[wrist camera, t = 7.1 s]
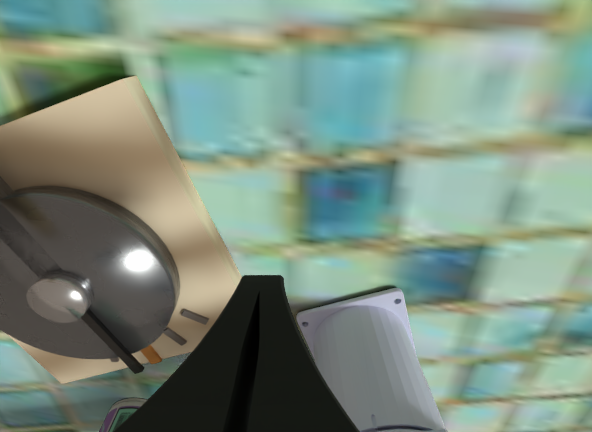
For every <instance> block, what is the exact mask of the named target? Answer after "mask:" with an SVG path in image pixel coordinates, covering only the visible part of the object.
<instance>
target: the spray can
mask: <svg viewBox="0 0 592 432" xmlns="http://www.w3.org/2000/svg"><path fill="white" fill-rule="evenodd" d="M146 401H147V400H146V399H140V398H129V399H123V400H120V401H118V402H116V403H115V404H114V405H113V406H112V407H111V409H110V411H109V412H108V414H107V416H106V418H105V421H104V423H103V425H102V427H101V429H100V431H99V432H113V431H114V430H115V429H116V428H117V427H119V426H120V425H121V424H122V423H123V422H124V421H125V420H126V419H127V418H128V417H130V416H131V415H132V414H133V413H134V412H135V411H136V410H137V409H138V408H140V407H141V406H142V405H143V404H144V403H145V402H146Z"/></svg>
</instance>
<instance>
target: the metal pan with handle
mask: <svg viewBox="0 0 592 432" xmlns="http://www.w3.org/2000/svg"><path fill="white" fill-rule="evenodd" d="M179 295H180V277H179V273H178V269H177V265H176V263H175V261H174V258H173V256H172V254H171V253H170V251H169V249H168V248H167V246H166V245H165V243H164V242H163V241H162V239H161V238H160V237H159V236H158V235H157V234H156V233H155V231H154V230H153V229H152V228H151V227H150V226H149V225H147V224H146V223H145V222H144V221H143V220H141V219H140V218H139V217H138V216H136V215H135V214H133V213H132V212H130V211H129V210H127V209H126V208H124V207H122V206H120V205H118V204H116V203H115V202H113V201H111V200H108V199H106V198H104V197H101V196H99V195H96V194H93V193H90V192H86V191H83V190H79V189H74V188H69V187H62V186H50V185H48V186H31V187H25V188H20V189H17V190H14V191H13V190H12V189H11V188H10V186H9V185H8V184H7V183H6V182H5V181H4V180H3V178H2V177H1V176H0V330H2V331H3V332H5V333H6V334H8V335H10V336H12V337H13V338H15V339H17V340H19V341H21V342H23V343H26V344H28V345H30V346H32V347H35V348H38V349H40V350H43V351H46V352H50V353H53V354H57V355H62V356H66V357H72V358H80V359H110V358H118V357H119V358H120V359H121V360H122V361H123V362H124V363H125V364H126V365H127V366H128V367H129V368H130V369H131V370H132V371H133V372H134V373H135V374H136V373H139V372H143V369H144V367H143V366H142V365H141V364H140V363H139V361H138V360H137V359H136V358H135V357H134V356H133V355H132V354H133V353H135V352H138V351H140V350H142V349H144V348H146V347H148V346H149V345H150V344H152V343H153V342H155V341H156V340H157V339H158V338H159V337H160V336H161V335H162V333H163V332H164V331H165V329H166V327H167V325H168V323H169V321H170V319H171V317H172V314H173V312H174V310H175V307H176V305H177V302H178V298H179Z"/></svg>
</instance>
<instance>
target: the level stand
mask: <svg viewBox="0 0 592 432" xmlns="http://www.w3.org/2000/svg"><path fill="white" fill-rule="evenodd" d="M0 176H1V177H2V178H3V180H4V181H5V182H6V183H7V184H8V185H9V186H10V188H11V189H12V190H13V191H14V190H17V189H20V188H25V187H31V186H48V185H50V186H62V187H69V188H74V189H79V190H83V191H86V192H90V193H93V194H96V195H99V196H101V197H104V198H106V199H108V200H111V201H113V202H115V203H116V204H118V205H120V206H122V207H124V208H126V209H127V210H129V211H130V212H132V213H133V214H135V215H136V216H138V217H139V218H140V219H141V220H143V221H144V222H145V223H146V224H147V225H149V226H150V227H151V228H152V229H153V230H154V231H155V233H156V234H157V235H158V236H159V237H160V238H161V239H162V241H163V242H164V243H165V245H166V246H167V248H168V249H169V251H170V253H171V254H172V256H173V258H174V261H175V263H176V265H177V269H178V273H179V277H180V295H179V298H178V302H177V305H176V307H175V310H174V312H173V314H172V317H171V319H170V321H169V323H168V325H167V327H166V329H165V331H164V332H163V333H162V335H161V336H160V337H159V338H158V339H157V340H156V341H155V342H153V343H152V344H150V345H149V346H148V347H146V348H144V349H142V350H140V351H138V352H135V353H133V354H132V355H133V356H134V357H135V358H136V359H137V360H138V361H139V363H140V364H144V363H149V362H150V363H151V364H155V363H159V362H161V361H162V359H165V358H169V357H173V356H177V355H181V354H185V353H189V352H193V350H194V349H195V348H196V347H197V345H198V344H199V343H200V341H201V340H202V339H203V337H204V336H205V335H206V333H207V332H208V331H209V329H210V328H211V327H212V325H213V324H214V323H215V321H216V320H217V318H218V317H219V315H220V314H221V312H222V311H223V309H224V308H225V306H226V305H227V303H228V301H229V300H230V298H231V296H232V295H233V293H234V291H235V290H236V288H237V286H238V284H239V282H240V280H241V278H242V276H241V275H240V273H239V271H238V269H237V267H236V265H235V263H234V261H233V259H232V257H231V255H230V254H229V252H228V250H227V248H226V246H225V244H224V242H223V240H222V238H221V236H220V234H219V233H218V231H217V229H216V227H215V225H214V223H213V221H212V219H211V217H210V215H209V213H208V212H207V210H206V208H205V206H204V204H203V202H202V200H201V198H200V196H199V194H198V192H197V190H196V189H195V187H194V185H193V183H192V181H191V179H190V177H189V175H188V173H187V171H186V169H185V168H184V166H183V164H182V162H181V160H180V158H179V156H178V154H177V152H176V150H175V148H174V147H173V145H172V143H171V141H170V139H169V137H168V135H167V133H166V131H165V129H164V127H163V126H162V124H161V122H160V120H159V118H158V116H157V114H156V112H155V110H154V108H153V106H152V105H151V103H150V101H149V99H148V97H147V95H146V93H145V91H144V89H143V87H142V85H141V83H140V82H139V80H138V78H137V76H133V77H128V78H124V79H121V80H118V81H116V82H113V83H110V84H108V85H105V86H103V87H100V88H97V89H95V90H92V91H90V92H87V93H84V94H82V95H79V96H77V97H74V98H71V99H69V100H66V101H64V102H61V103H58V104H56V105H53V106H51V107H48V108H45V109H43V110H40V111H38V112H35V113H32V114H30V115H27V116H25V117H22V118H19V119H17V120H14V121H12V122H9V123H6V124H4V125H1V126H0ZM7 335H8V334H7ZM9 336H10V335H9ZM10 337H11V338H12V339H13V340H14V341H15V342H16V343H17V344H19V345H20V346H21V347H22V348H23V349H24V350H25V351H26V352H27V353H28V354H30V355H31V356H32V357H33V358H34V359H35V360H36V361H37V362H38V363H40V364H41V365H42V366H43V367H44V368H45V369H46V370H47V371H48V372H49V373H51V374H52V375H53V376H54V377H55V378H56V379H57V380H58V381H59V382H60V383H62V384H64V383H68V382H72V381H76V380H80V379H84V378H88V377H92V376H96V375H100V374H104V373H108V372H112V371H116V370H120V369H124V368H128V366H127V365H126V364H125V363H124V362H123V361H122V360H121V359H120V358H119V357H118V358H110V359H80V358H72V357H66V356H62V355H57V354H53V353H50V352H46V351H43V350H40V349H38V348H35V347H32V346H30V345H28V344H26V343H23V342H21V341H19V340H17V339H15V338H13V337H12V336H10Z"/></svg>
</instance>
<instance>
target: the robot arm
mask: <svg viewBox="0 0 592 432" xmlns="http://www.w3.org/2000/svg"><path fill="white" fill-rule="evenodd" d="M396 299H398V300H396ZM296 319H297V322H298V325H299V327H300V329H301V331H302V333H303V336H304V338H305V340H306V342H307V344H308V347H309V349H310V351H311V353H312V355H313V358H314V360H315V363H314V361H313V359H312V357H311V355H310V353H309V351H308V349H307V347H306V345H305V343H304V341H303V339H302V337H301V335H300V332H299V330H298V328H297V325H296V323H295V320H294V317H293V315H292V312H291V309H290V306H289V303H288V300H287V296H286V292H285V288H284V278H283V277H282V276H281V275H244V276H243V277H242V278H241V280H240V282H239V284H238V286H237V288H236V290H235V291H234V293H233V295H232V296H231V298H230V300H229V301H228V303H227V305H226V306H225V308H224V309H223V311H222V312H221V314H220V315H219V317H218V318H217V320H216V321H215V323H214V324H213V325H212V327H211V328H210V329H209V331H208V332H207V333H206V335H205V336H204V337H203V339H202V340H201V341H200V343H199V344H198V345H197V347H196V348H195V349H194V350H193V352H192V353H191V354H190V355H189V356H188V357H187V359H186V360H185V361H184V362H183V363H182V364H181V366H180V367H179V368H178V369H177V370H176V371H175V372H174V373H173V374H172V375H171V376H170V378H169V379H168V380H167V381H166V382H165V383H164V384H163V385H162V386H161V387H160V388H159V389H158V390H157V391H156V392H155V393H154V394H153V395H152V396H151V397H150V398H149V399H148V400H147V401H146V402H145V403H144V404H143V405H142V406H141V407H140V408H138V409H137V410H136V411H135V412H134V413H133V414H132V415H131V416H130V417H128V418H127V419H126V420H125V421H124V422H123V423H122V424H121V425H120V426H119V427H117V428H116V429H115V430H114V431H113V432H448V431H447V430H446V428H445V425H444V423H443V420H442V418H441V415H440V413H439V410H438V408H437V406H436V403H435V401H434V398H433V396H432V393H431V391H430V388H429V386H428V383H427V381H426V378H425V376H424V373H423V371H422V368H421V366H420V363H419V361H418V359H417V356H416V351H415V346H414V342H413V337H412V332H411V328H410V323H409V318H408V314H407V309H406V305H405V300H404V295H403V293H402V290H401V289H399V288H392V289H389V290H385V291H381V292H377V293H373V294H369V295H365V296H361V297H357V298H353V299H349V300H345V301H341V302H337V303H333V304H329V305H325V306H321V307H317V308H313V309H309V310H305V311H302V312H299V313H298V314H297V316H296ZM304 322H306V323H304Z"/></svg>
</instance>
